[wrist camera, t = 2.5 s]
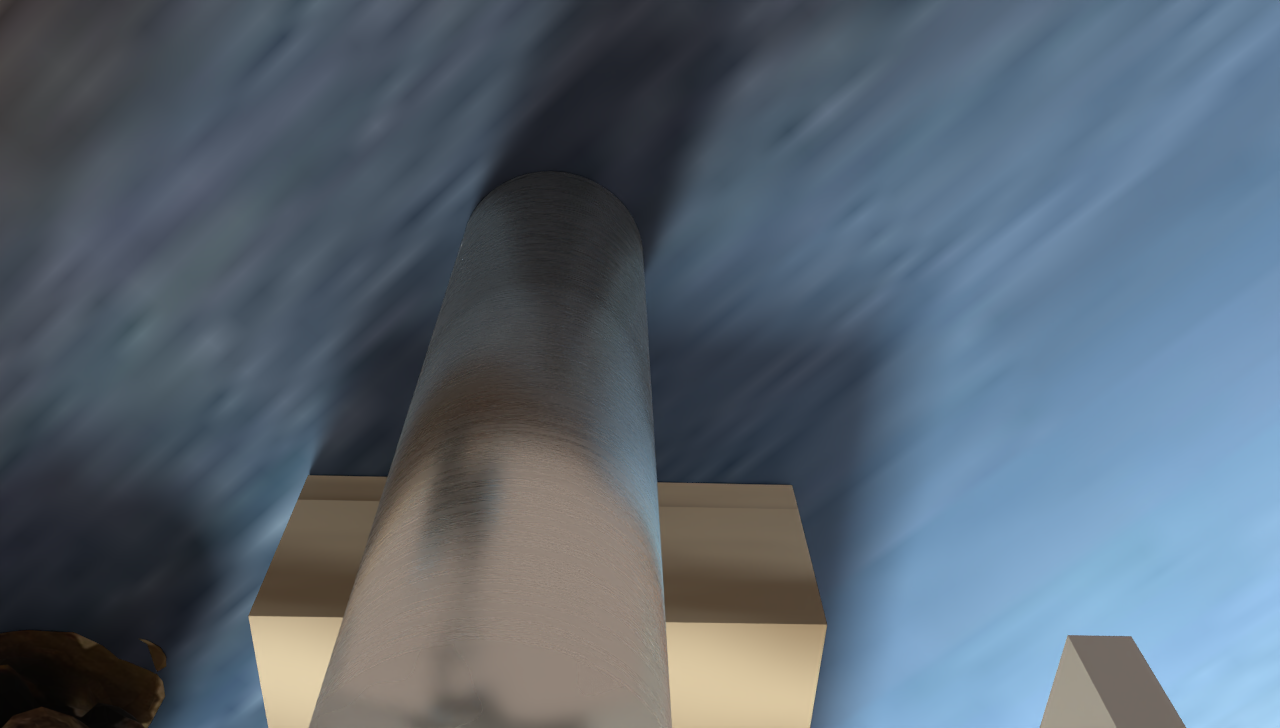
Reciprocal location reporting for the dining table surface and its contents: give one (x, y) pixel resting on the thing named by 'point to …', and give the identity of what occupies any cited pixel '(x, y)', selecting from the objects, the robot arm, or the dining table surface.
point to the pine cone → (74, 683)
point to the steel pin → (519, 491)
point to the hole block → (693, 596)
